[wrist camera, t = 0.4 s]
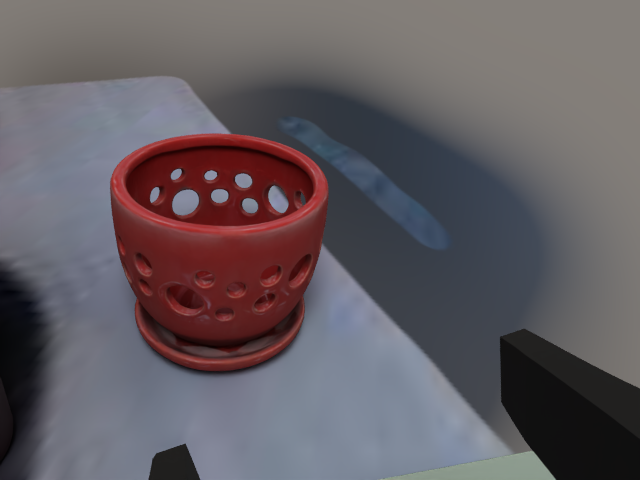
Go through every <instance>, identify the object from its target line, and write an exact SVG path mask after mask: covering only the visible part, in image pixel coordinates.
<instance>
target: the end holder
mask: <svg viewBox="0 0 640 480" xmlns="http://www.w3.org/2000/svg"><path fill="white" fill-rule="evenodd" d="M380 480H556V479H555V478H554V477H553V475H552V474H551V473H550V472H549V470H548V469H547V468H546V467H545V465H544V464H543V463H542V462H541V460H540V459H539V458H538V457H537V455H536V454H535V453H534V452H533V451H529V452H524V453H519V454H513V455H508V456H503V457H497V458H492V459H487V460H481V461H476V462H471V463H465V464H460V465H455V466H449V467H444V468H439V469H433V470H428V471H423V472H417V473H412V474H407V475H401V476H396V477H391V478H385V479H380Z"/></svg>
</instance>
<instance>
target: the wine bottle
mask: <svg viewBox="0 0 640 480" xmlns="http://www.w3.org/2000/svg"><path fill="white" fill-rule="evenodd" d="M12 435H13V416H12V413H11V409H10V406H9V403H8V400H7V396H6V393H5V390H4V387H3V384H2V380H1V377H0V461H1V460H2V459H3V457H4V456H5V454H6V452H7V450H8V448H9V446H10V443H11V439H12Z"/></svg>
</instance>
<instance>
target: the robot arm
mask: <svg viewBox="0 0 640 480" xmlns="http://www.w3.org/2000/svg"><path fill="white" fill-rule="evenodd" d="M500 356H501V402H502V404H503V406H504V407H505V409H506V411H507V412H508V414H509V416H510V417H511V419H512V421H513V422H514V424H515V426H516V427H517V429H518V430H519V432H520V433H521V435H522V437H523V438H524V440H525V441H526V443H527V444H528V445H529V446H530V448H531V449H532V450H533V452H534V453H535V454H536V455H537V457H538V458H539V459H540V460H541V462H542V463H543V464H544V465H545V467H546V468H547V469H548V470H549V472H550V473H551V474H552V475H553V477H554V478H555V479H556V480H640V389H639V388H637V387H635V386H633V385H631V384H629V383H627V382H625V381H623V380H621V379H619V378H617V377H615V376H612V375H611V374H609V373H607V372H605V371H603V370H601V369H599V368H597V367H595V366H593V365H591V364H589V363H587V362H586V361H584V360H582V359H579V358H578V357H576V356H574V355H572V354H570V353H569V352H567V351H565V350H563V349H561V348H559V347H558V346H556V345H554V344H552V343H550V342H548V341H546V340H545V339H543V338H541V337H539V336H537V335H535V334H533V333H532V332H530V331H528V330H526V329H522V330H519V331H516V332H513V333H510V334H507V335H504V336H501V337H500ZM149 480H200V478H199V475H198V473H197V470H196V468H195V465H194V463H193V461H192V458H191V456H190V453H189V451H188V448H187V446H186V444H183V445H180V446H177V447H174V448H171V449H168V450H165V451H162V452H159V453H156V455H155V456H154V458H153V460H152V465H151V471H150V476H149Z"/></svg>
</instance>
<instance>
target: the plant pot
mask: <svg viewBox="0 0 640 480" xmlns="http://www.w3.org/2000/svg"><path fill="white" fill-rule="evenodd" d="M176 169H181V170H182V174H181V176H180V177H179V178H178V179H176V180H172V179H171V173H172V172H173V171H174V170H176ZM210 170H213V171H215V172H217V177H216V178H215V179H214V180H206V179H205V177H204V175H205V173H206V172H207V171H210ZM241 173H245V174H248V175H249V176H250V177H251V178H252V185H251V186H250V187H248V188H241V187H239V186H238V185H237V184H236V182H235V176H236V175H238V174H241ZM273 185H275V186H278V187H280V188H281V189H282V190H283V191H284V193H285V195H286V197H287V199H288V202H289V205H288V208H287V210H286V212H285V213H279V212H277V211H276V210H275V209H274V208H273V207H272V206H271V204H270V202H269V198H268V193H269V190H270V188H271V187H272V186H273ZM155 187H159V190H160V193H159V196H158V198H157V200H156V201H154V202H153V203H151V202H150V194H151V191H152V190H153V189H154V188H155ZM186 189H190V190H193V191H195V192H196V193H197V194H198V196H199V204H198V206H197V208H196V209H195V211H193V212H192V213H190V214H188V215H183V216H182V215H177V214H175V213H174V211H173V209H172V201H173V199H174V196H175V195H176V194H177V193H179V192H180V191H182V190H186ZM216 189H224V190H226V191H227V192H228V195H229V196H228V199H227V201H225V202H223V203H216V202H214V201H213V200H212V198H211V193H212V192H213V191H214V190H216ZM110 193H111V207H112V216H113V223H114V229H115V236H116V241H117V247H118V252H119V256H120V260H121V263H122V266H123V269H124V272H125V274H126V277H127V279H128V282H129V284H130V286H131V288H132V290H133V291H134V293H135V295H136V297H137V300H136V304H135V319H136V323H137V326H138V328H139V331H140V333H141V335H142V336H143V338H144V339H145V341H146V342H147V343H148V344H149V345H150V346H151V347H152V348H153V349H154V350H155V351H157V352H158V353H160V354H161V355H162V356H164V357H166V358H167V359H169V360H171V361H173V362H175V363H178V364H180V365H183V366H186V367H189V368H193V369H198V370H205V371H228V370H236V369H241V368H245V367H249V366H253V365H256V364H258V363H261V362H263V361H266V360H267V359H269V358H271V357H273V356H274V355H276V354H278V353H279V352H280V351H282V350H283V349H284V348H285V347H286V346H287V345H289V344H290V342H291V341H292V340H293V339H294V338H295V336H296V335H297V333H298V331H299V329H300V327H301V324H302V322H303V318H304V312H305V305H304V299H303V294H304V292H305V290H306V288H307V286H308V285H309V283H310V280H311V278H312V276H313V273H314V270H315V267H316V264H317V261H318V257H319V254H320V250H321V244H322V238H323V232H324V227H325V222H326V214H327V205H328V183H327V180H326V177H325V175H324V173H323V172H322V170H321V169H320V168H319V167H318V165H317V164H316V163H315V162H314V161H312V160H311V159H310V158H309V157H307V156H306V155H304V154H302V153H301V152H299V151H297V150H295V149H293V148H290V147H288V146H285V145H282V144H280V143H277V142H274V141H269V140H266V139H262V138H256V137H252V136H245V135H235V134H196V135H186V136H180V137H174V138H169V139H165V140H161V141H158V142H154V143H152V144H149V145H146V146H144V147H142V148H140V149H138V150H136V151H134V152H133V153H131V154H130V155H128V156H127V157H125V158H124V159H123V160H122V161H121V162H120V163H119V164H118V165H117V167H116V168H115V170H114V172H113V174H112V177H111V181H110ZM301 193H303V195H304V196H305V199H306V204H305V205H304V206H303V205H302V202H301V198H300V195H301ZM246 198H252V199H254V200H255V201H256V202H257V203H258V210H257V212H255V213H247V212H246V211H245V210H244V209H243V207H242V202H243V200H244V199H246Z"/></svg>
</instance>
